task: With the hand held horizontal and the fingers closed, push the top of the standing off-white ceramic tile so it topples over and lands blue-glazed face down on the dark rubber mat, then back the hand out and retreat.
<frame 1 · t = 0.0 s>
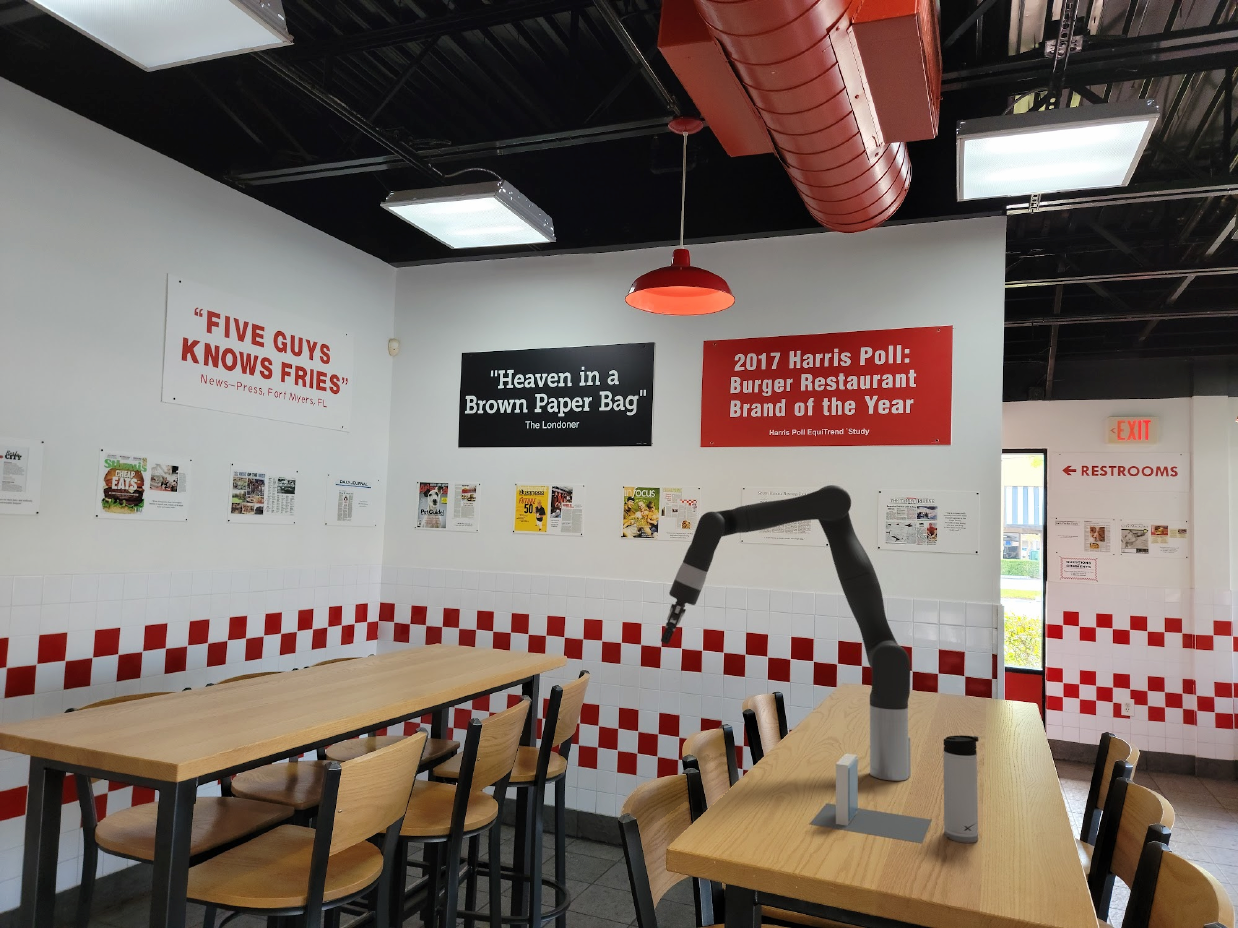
hand: (665, 640, 222), 31 cm above the table, tool tilted 20°, fingers open, 8 cm apart
tile: (846, 817, 179), resting on mat
travel mug: (962, 838, 169), on the table
mat: (871, 824, 176), on the table
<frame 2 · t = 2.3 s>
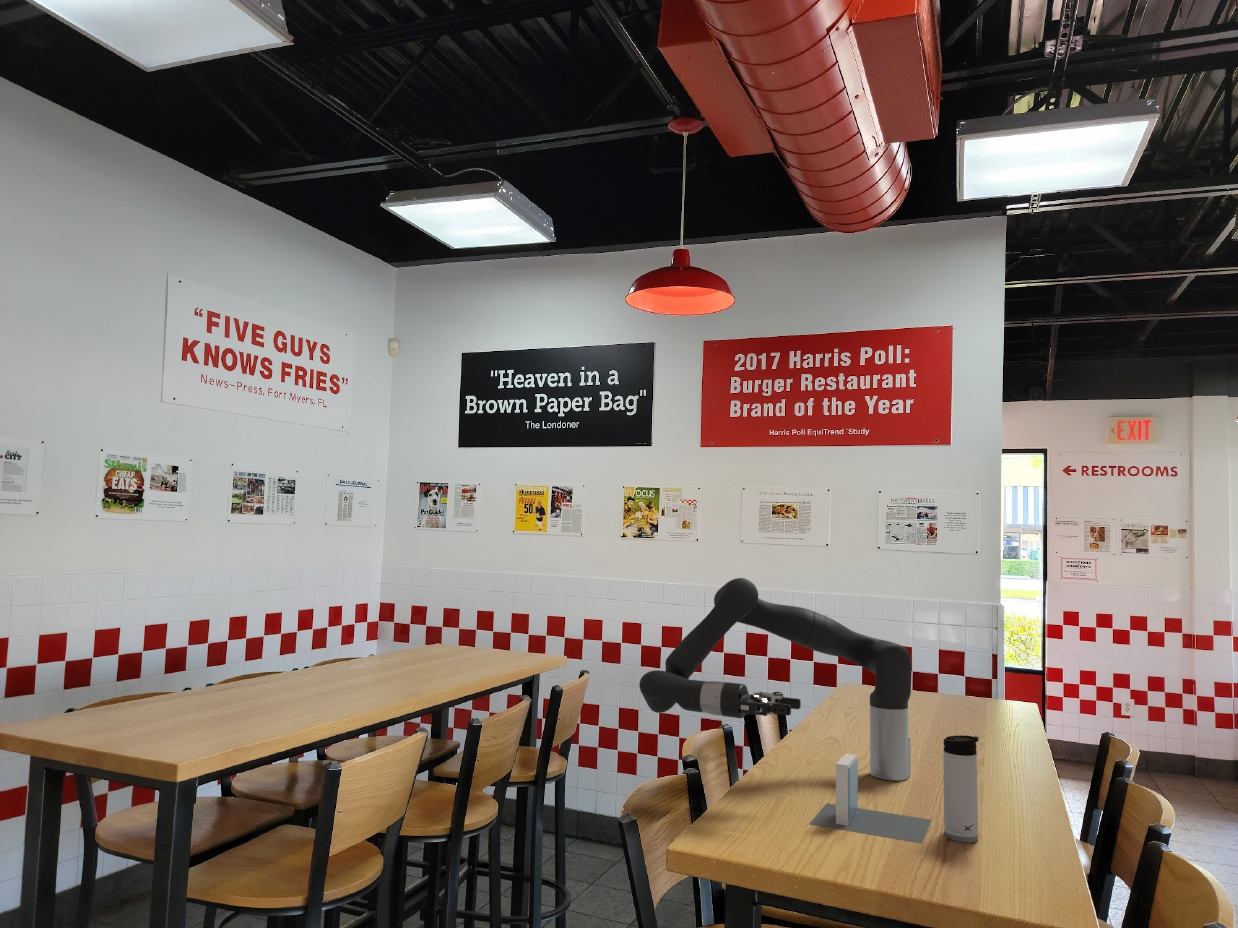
hand: (795, 707, 185), 22 cm above the table, tool horizontal, fingers open, 7 cm apart
nothing on the table moved.
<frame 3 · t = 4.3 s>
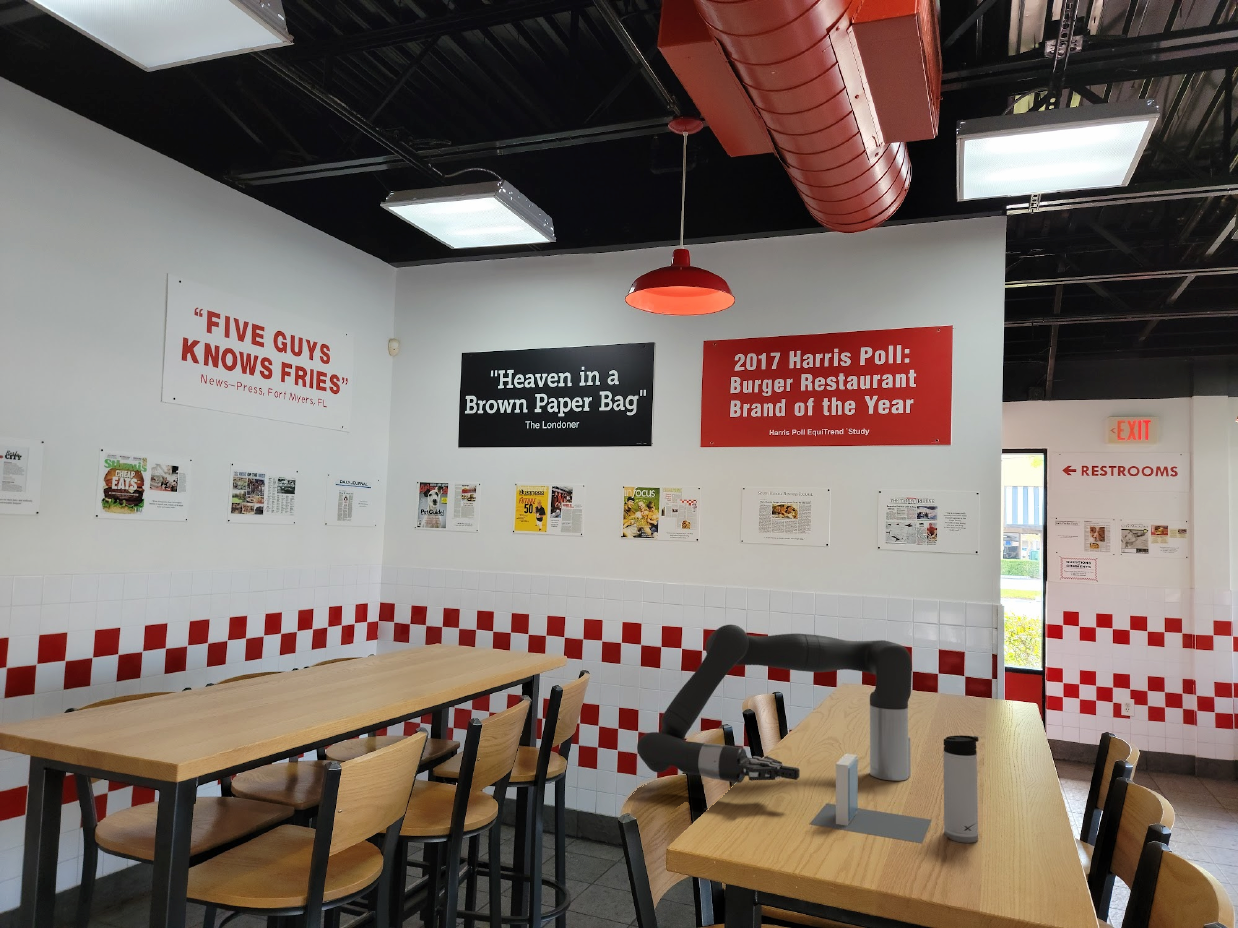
hand: (798, 773, 184), 8 cm above the table, tool horizontal, fingers closed
nothing on the table moved.
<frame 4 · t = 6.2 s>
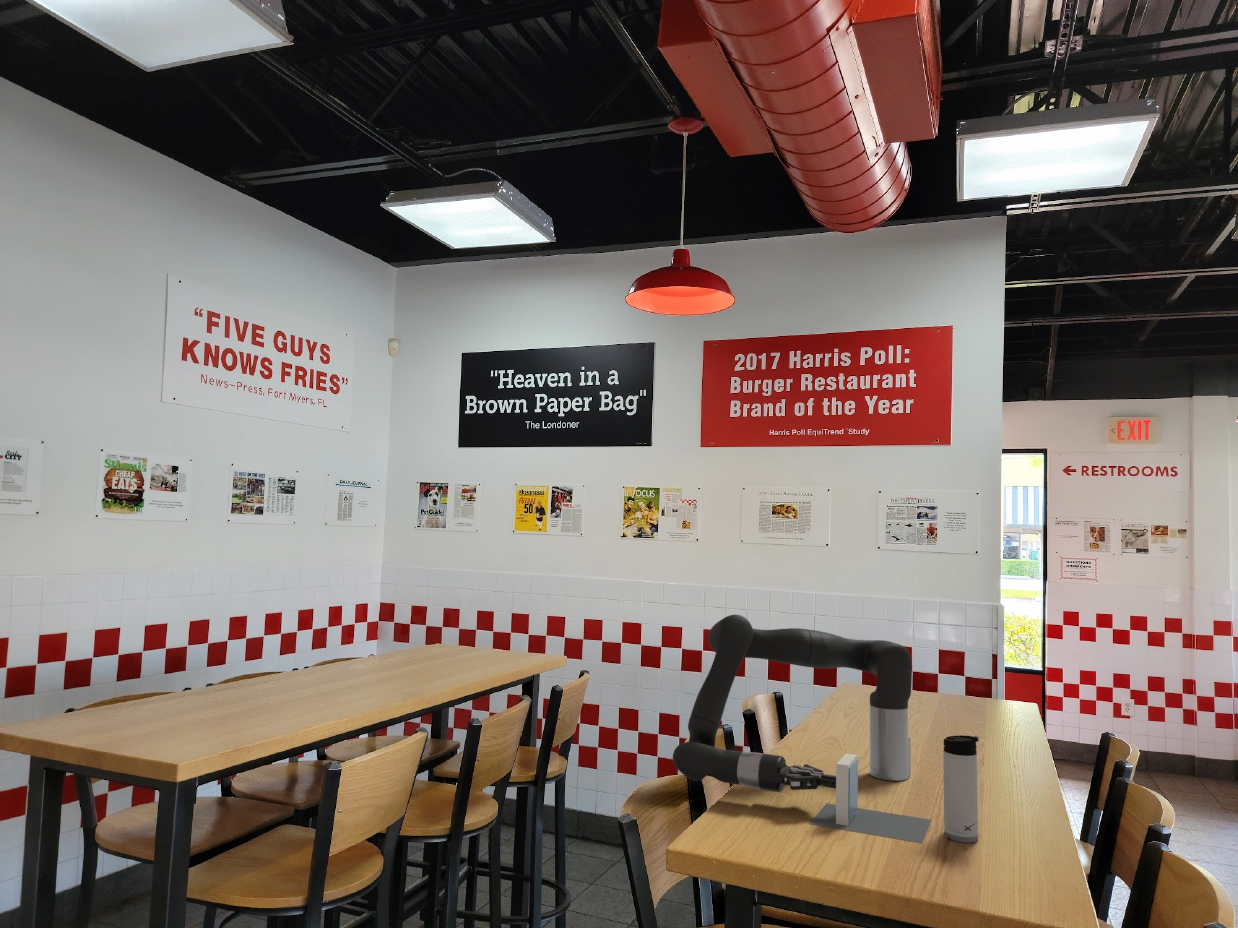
hand: (841, 782, 180), 7 cm above the table, tool horizontal, fingers closed
tile: (846, 817, 179), point 1 cm above the table, touching gripper, mat
everything else where it was.
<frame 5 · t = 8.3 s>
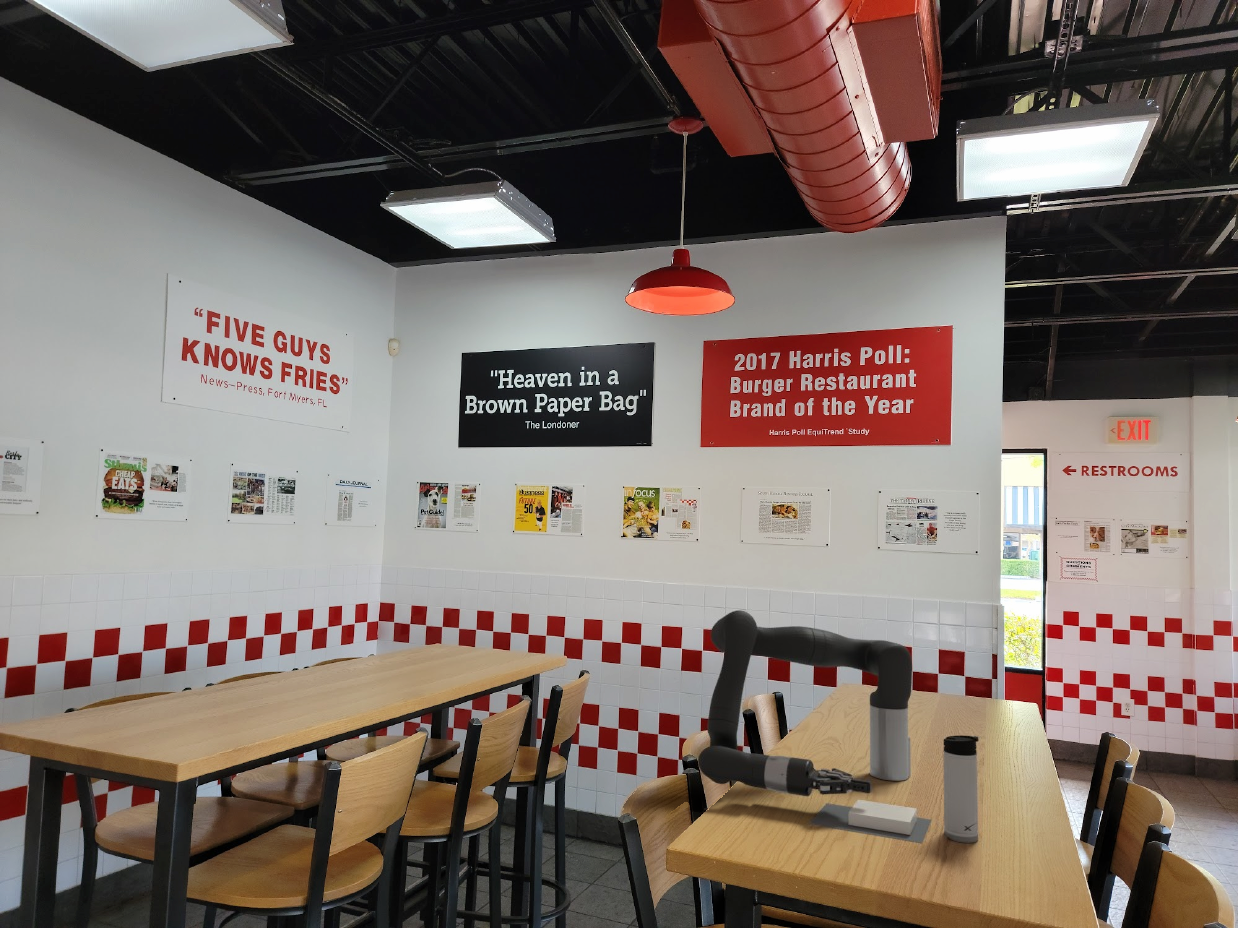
hand: (870, 786, 177), 8 cm above the table, tool horizontal, fingers closed
tile: (853, 811, 178), point 2 cm above the table, tilted 90°, touching mat
everything else where it was.
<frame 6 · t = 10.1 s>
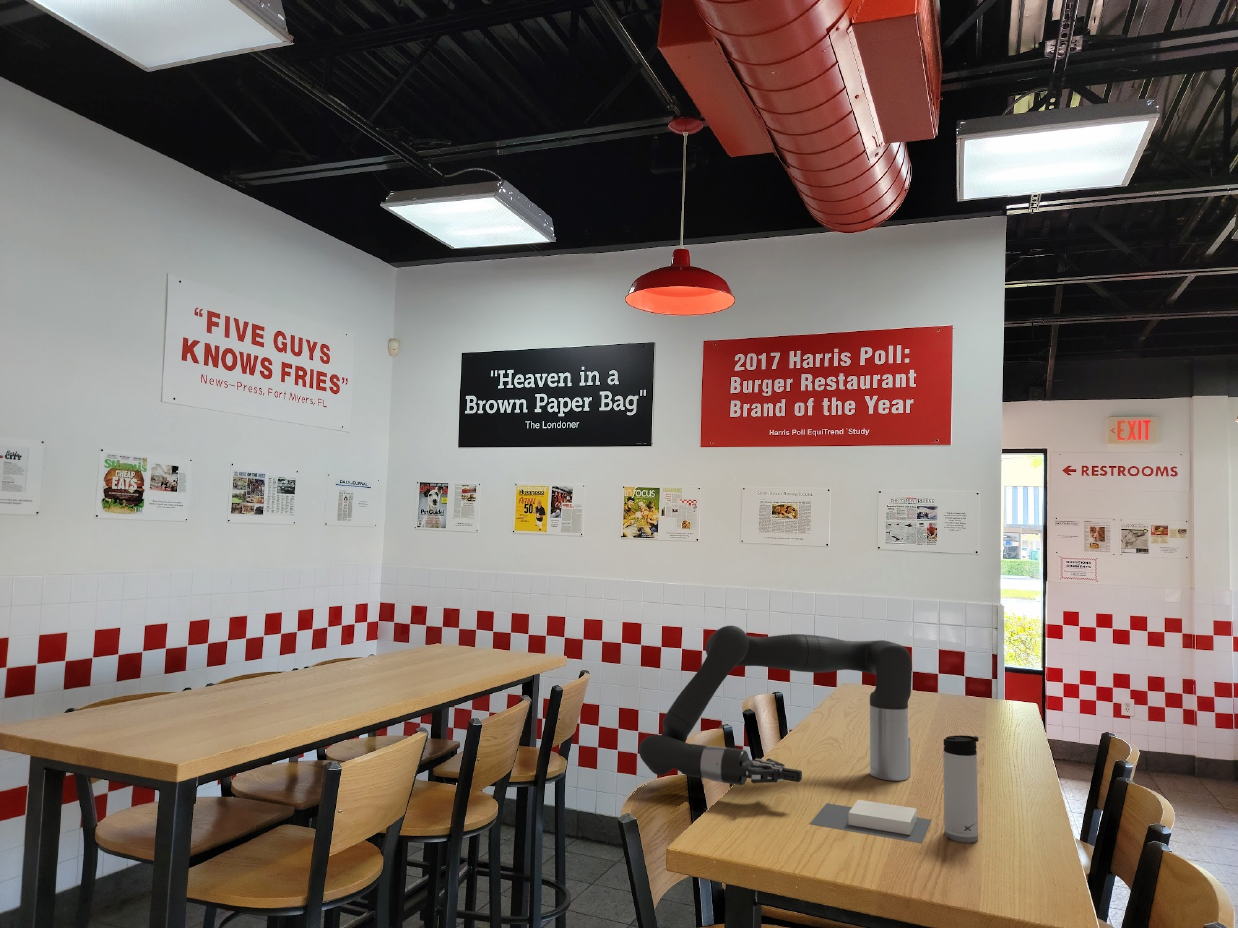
hand: (801, 776, 184), 8 cm above the table, tool horizontal, fingers closed
nothing on the table moved.
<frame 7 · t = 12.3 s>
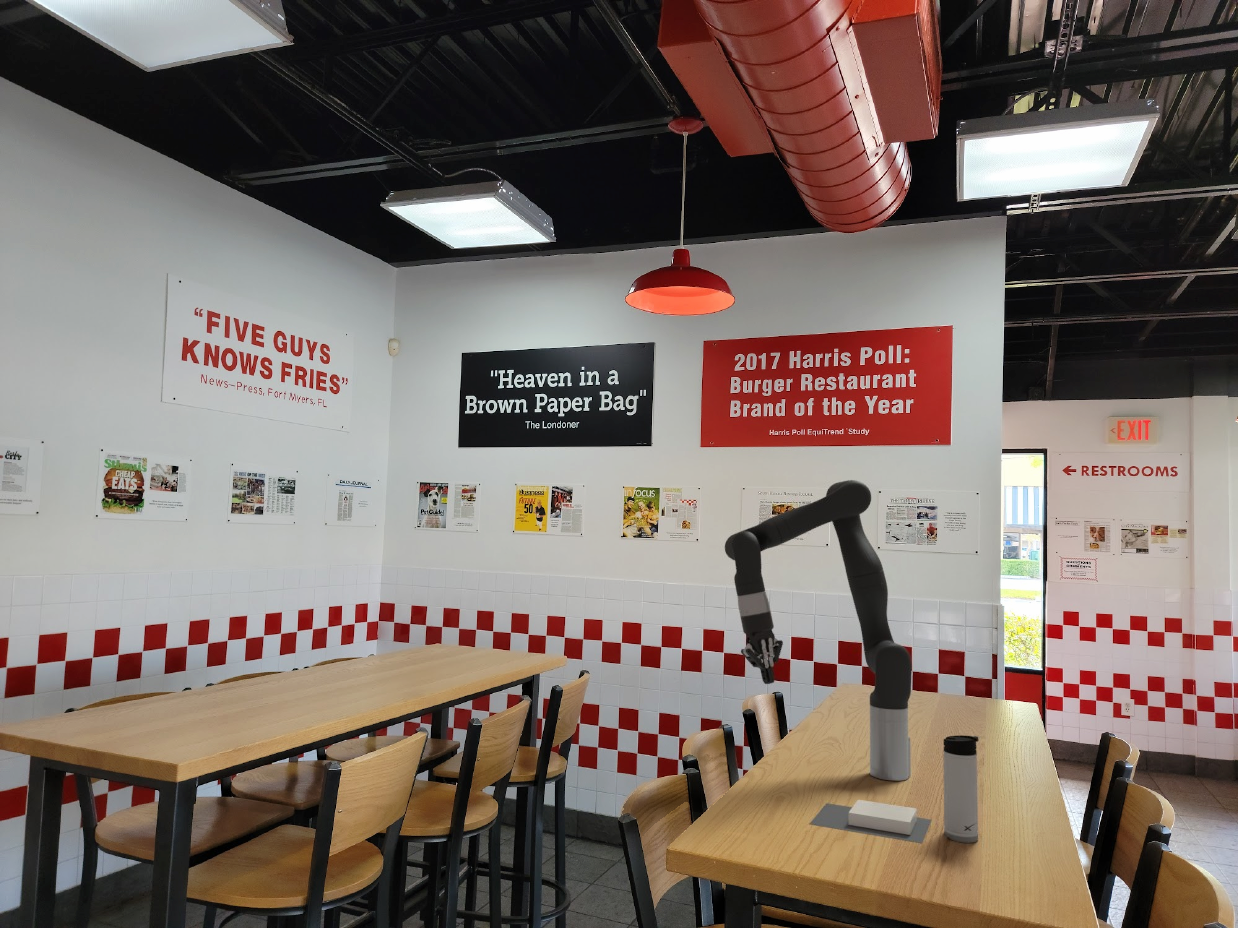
hand: (769, 683, 207), 24 cm above the table, tool pointing down, fingers closed
nothing on the table moved.
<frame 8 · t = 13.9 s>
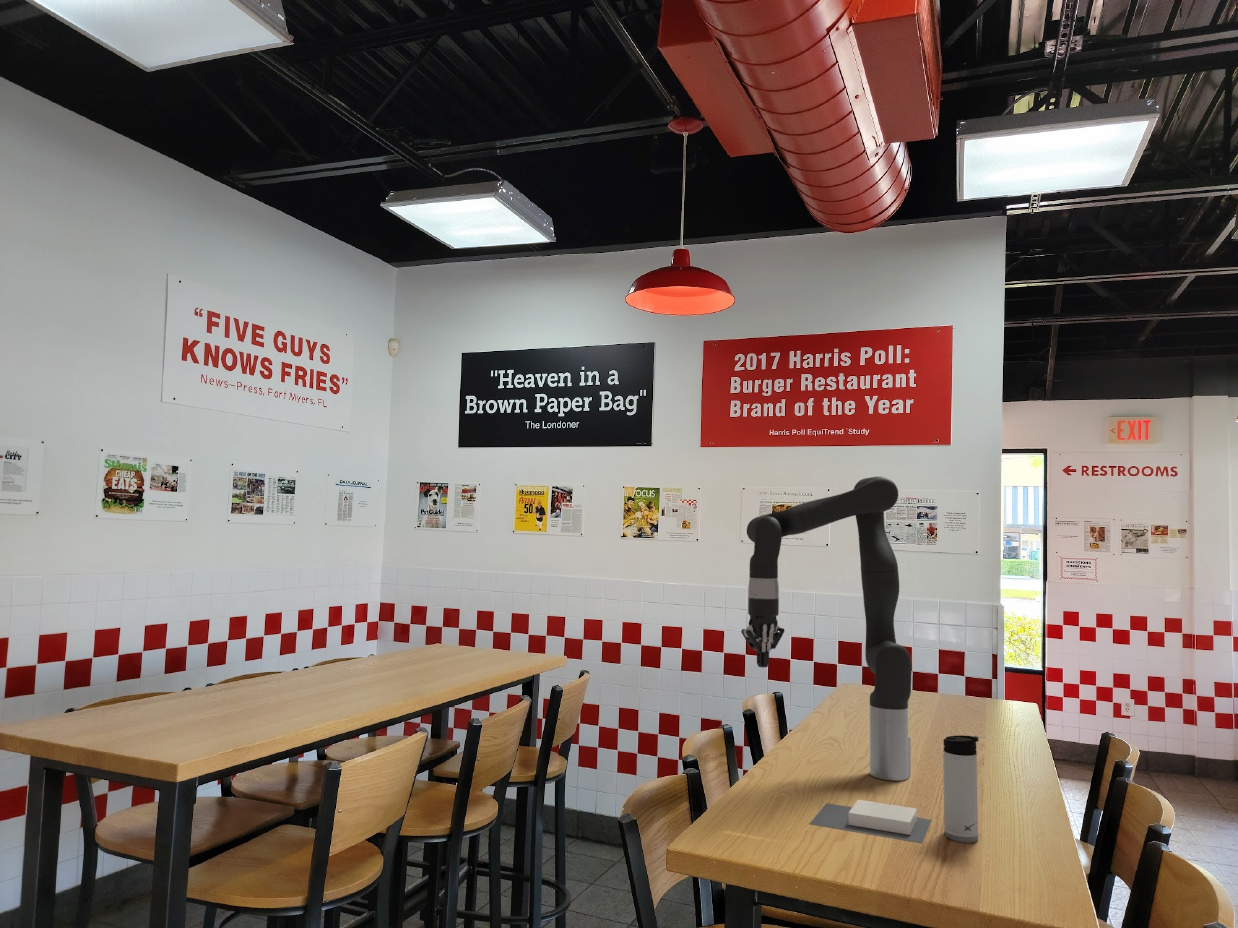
hand: (762, 666, 211), 27 cm above the table, tool pointing down, fingers closed
nothing on the table moved.
at the end: tile tilted 90°; tile inside the target area on the mat (3.6 cm from its centre), point 1.9 cm above the mat's base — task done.
